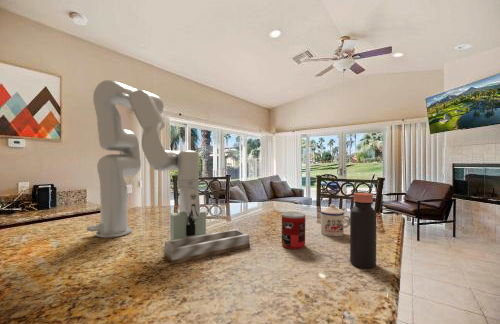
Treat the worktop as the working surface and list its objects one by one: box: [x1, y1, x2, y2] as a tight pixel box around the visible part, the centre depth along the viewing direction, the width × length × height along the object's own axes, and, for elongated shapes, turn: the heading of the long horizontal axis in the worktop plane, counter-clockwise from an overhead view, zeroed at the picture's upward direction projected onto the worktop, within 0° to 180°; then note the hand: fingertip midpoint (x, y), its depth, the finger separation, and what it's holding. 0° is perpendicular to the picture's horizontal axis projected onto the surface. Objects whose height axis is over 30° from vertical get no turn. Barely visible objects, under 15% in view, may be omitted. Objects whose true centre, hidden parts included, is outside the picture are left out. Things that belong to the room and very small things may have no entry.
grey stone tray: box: [164, 228, 251, 265], centre depth 82 cm, size 26×9×4 cm, turn 123°
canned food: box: [281, 211, 306, 250], centre depth 86 cm, size 8×8×11 cm
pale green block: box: [169, 209, 207, 241], centre depth 92 cm, size 12×4×10 cm, turn 123°
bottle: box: [349, 192, 377, 270], centre depth 71 cm, size 7×7×20 cm
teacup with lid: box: [320, 203, 350, 237], centre depth 100 cm, size 12×9×12 cm
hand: (188, 233), depth 92 cm, fingers closed on pale green block, 4 cm apart
